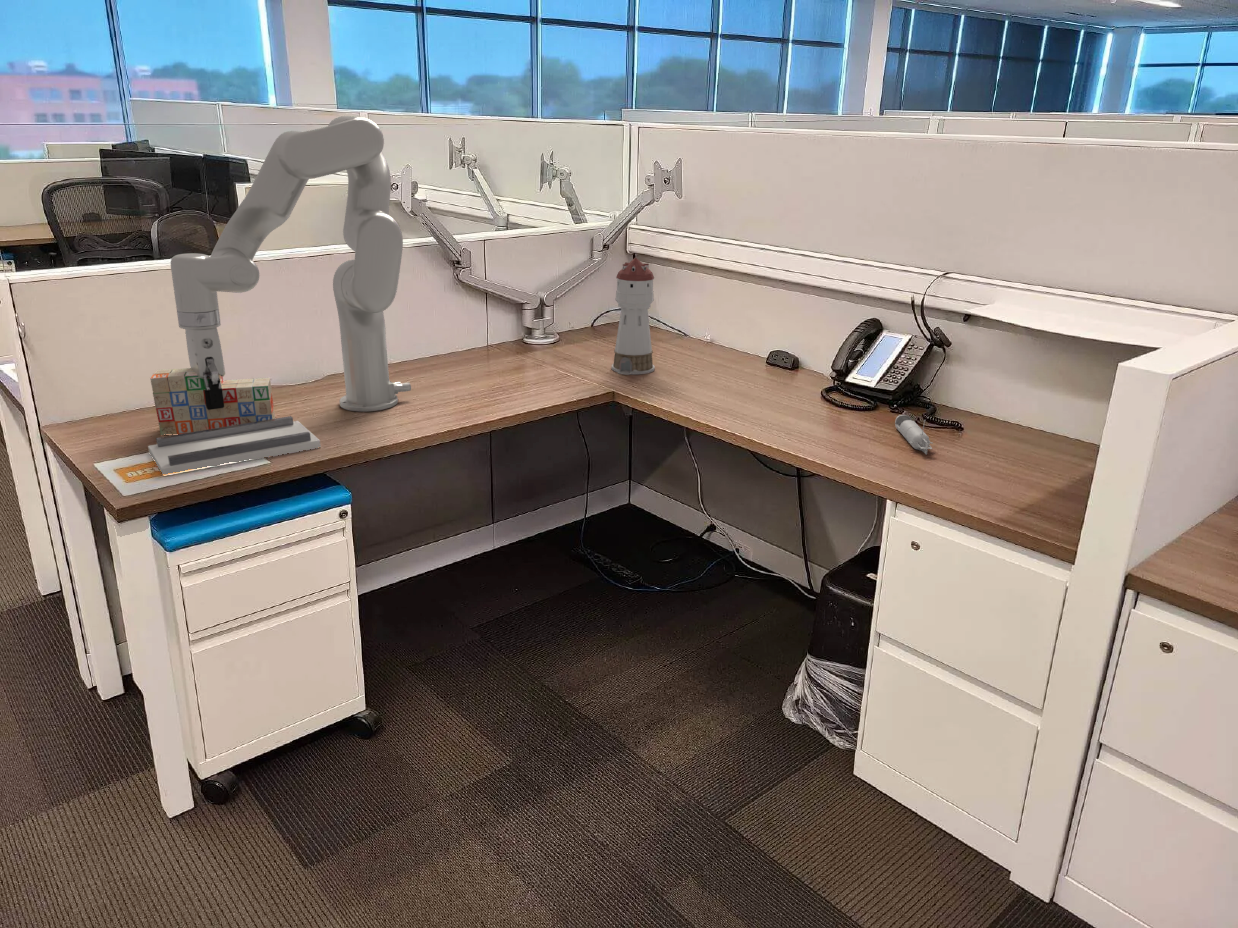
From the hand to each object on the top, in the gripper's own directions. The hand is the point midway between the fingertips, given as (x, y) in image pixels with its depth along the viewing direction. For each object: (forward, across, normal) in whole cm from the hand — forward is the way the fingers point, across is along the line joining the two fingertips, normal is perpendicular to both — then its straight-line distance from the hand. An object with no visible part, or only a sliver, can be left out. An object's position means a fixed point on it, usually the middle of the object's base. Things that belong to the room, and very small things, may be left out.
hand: (209, 402), depth 181 cm
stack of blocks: (+6, 0, -1) cm, 6 cm away
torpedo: (+3, -83, -118) cm, 144 cm away
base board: (+5, -16, -1) cm, 17 cm away
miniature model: (+4, -8, -101) cm, 101 cm away
